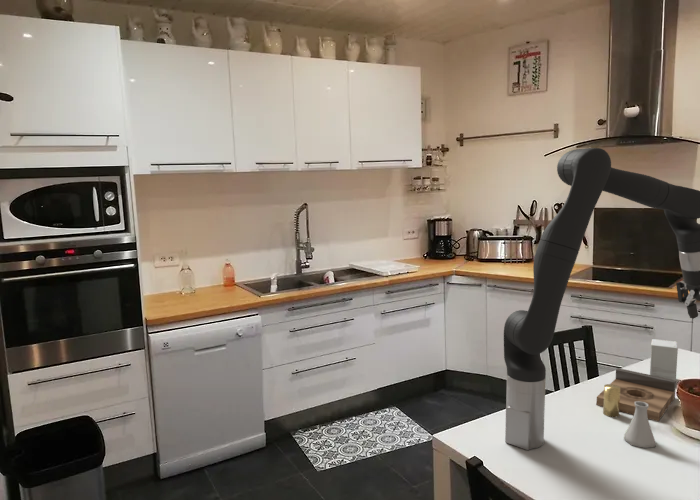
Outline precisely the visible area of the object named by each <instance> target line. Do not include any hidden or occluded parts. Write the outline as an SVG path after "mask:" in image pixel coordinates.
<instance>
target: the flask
mask: <svg viewBox="0 0 700 500" xmlns="http://www.w3.org/2000/svg"><path fill="white" fill-rule="evenodd" d="M635 406H636V409H635V413H634V415H633V417H632V419H631V421H630V423H629V424H628V427H627V429H626V431H625V432H624V434H623V435H624V436H623V441H625V442H626V443H628V444H629V445H631V446H634V447H639V448H644V449H645V448H646V449H647V448H648V449H649V448H655V447H656V440H655V436H654V434H653V431H652V427H651V424H650V422H649V419H648V416H647V408H649V404H647V403H645V402H641V401H637V402H635Z"/></svg>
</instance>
